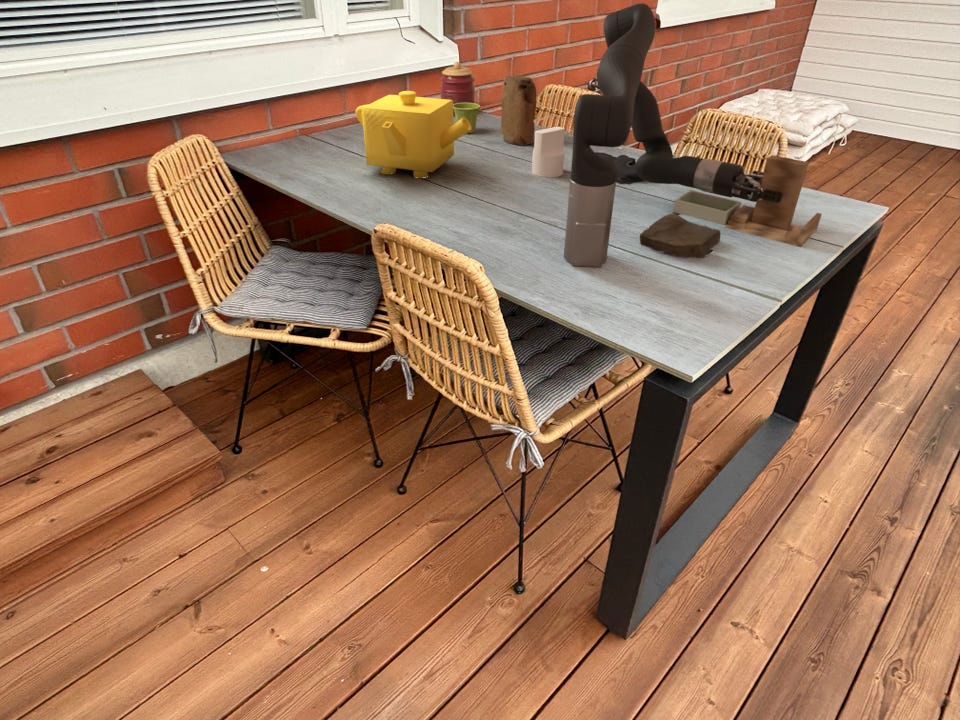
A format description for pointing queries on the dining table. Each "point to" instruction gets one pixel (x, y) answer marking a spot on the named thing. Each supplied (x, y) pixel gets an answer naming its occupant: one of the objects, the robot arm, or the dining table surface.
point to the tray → (706, 207)
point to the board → (783, 179)
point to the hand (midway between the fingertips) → (787, 192)
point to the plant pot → (467, 113)
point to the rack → (793, 236)
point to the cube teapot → (410, 132)
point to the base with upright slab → (548, 152)
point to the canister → (457, 84)
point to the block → (518, 110)
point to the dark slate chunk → (623, 168)
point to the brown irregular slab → (680, 237)
